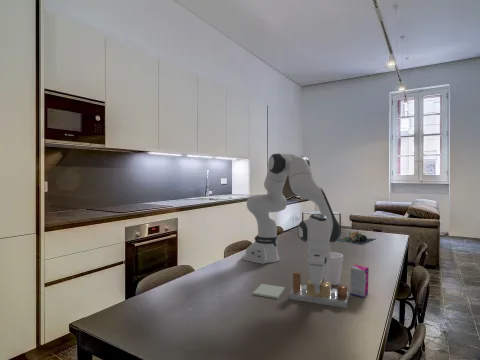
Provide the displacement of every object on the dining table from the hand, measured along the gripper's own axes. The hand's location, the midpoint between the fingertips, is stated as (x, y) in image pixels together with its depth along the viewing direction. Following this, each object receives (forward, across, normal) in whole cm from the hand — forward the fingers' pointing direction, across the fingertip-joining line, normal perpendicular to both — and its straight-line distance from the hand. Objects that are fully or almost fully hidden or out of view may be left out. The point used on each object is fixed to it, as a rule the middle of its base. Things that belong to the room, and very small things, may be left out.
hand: (319, 288), depth 122 cm
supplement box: (+4, -11, +15) cm, 19 cm away
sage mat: (+4, +1, -21) cm, 22 cm away
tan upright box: (+2, 0, 0) cm, 2 cm away
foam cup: (+4, -21, +3) cm, 22 cm away
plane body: (+4, 0, 0) cm, 4 cm away
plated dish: (+5, -120, +9) cm, 121 cm away
